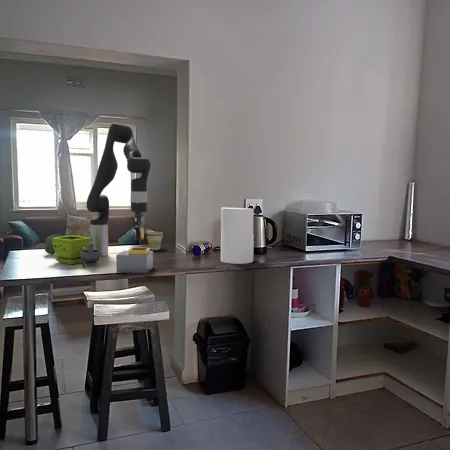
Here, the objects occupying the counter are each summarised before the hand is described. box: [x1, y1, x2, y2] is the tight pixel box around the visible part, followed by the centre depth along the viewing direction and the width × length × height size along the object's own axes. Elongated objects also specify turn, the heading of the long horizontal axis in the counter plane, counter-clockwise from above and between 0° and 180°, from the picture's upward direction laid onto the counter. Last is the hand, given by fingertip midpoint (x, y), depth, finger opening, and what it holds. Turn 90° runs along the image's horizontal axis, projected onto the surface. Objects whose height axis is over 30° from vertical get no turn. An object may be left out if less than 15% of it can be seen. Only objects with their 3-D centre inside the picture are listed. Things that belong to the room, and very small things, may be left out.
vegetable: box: [44, 233, 65, 256], centre depth 247 cm, size 12×13×15 cm
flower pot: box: [52, 235, 91, 265], centre depth 225 cm, size 14×14×13 cm
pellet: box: [134, 227, 145, 241], centre depth 207 cm, size 4×4×5 cm
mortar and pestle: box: [80, 242, 101, 267], centre depth 218 cm, size 11×9×12 cm
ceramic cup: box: [145, 231, 164, 251], centre depth 271 cm, size 13×10×10 cm
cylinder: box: [220, 206, 255, 265], centre depth 235 cm, size 17×17×28 cm
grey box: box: [115, 246, 154, 274], centre depth 209 cm, size 14×13×10 cm
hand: (139, 238), depth 208 cm, fingers closed on pellet, 4 cm apart
